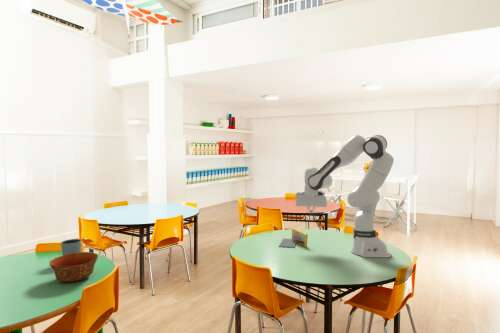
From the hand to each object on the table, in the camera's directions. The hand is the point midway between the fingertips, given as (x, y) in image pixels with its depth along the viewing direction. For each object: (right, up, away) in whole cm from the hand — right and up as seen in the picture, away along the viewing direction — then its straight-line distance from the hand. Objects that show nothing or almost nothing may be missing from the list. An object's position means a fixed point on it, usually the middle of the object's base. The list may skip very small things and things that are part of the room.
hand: (311, 213), depth 216 cm
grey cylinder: (-141, -23, -33) cm, 146 cm away
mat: (-15, -21, +4) cm, 26 cm away
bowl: (-126, -24, -57) cm, 140 cm away
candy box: (-8, -21, +3) cm, 22 cm away
